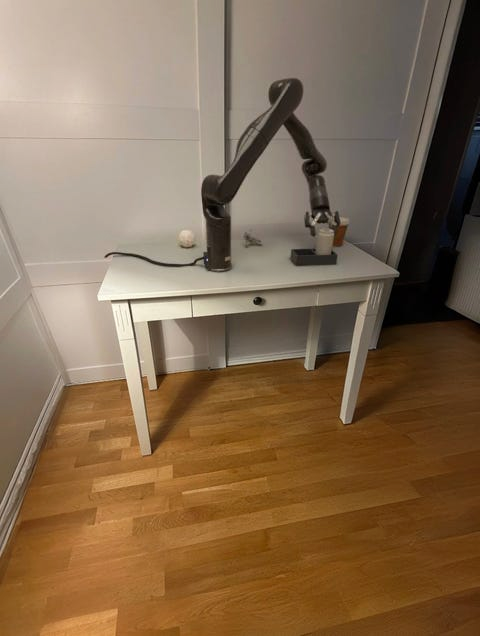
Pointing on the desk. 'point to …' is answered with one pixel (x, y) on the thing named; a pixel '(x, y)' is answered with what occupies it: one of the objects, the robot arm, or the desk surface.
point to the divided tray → (312, 257)
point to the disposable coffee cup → (340, 231)
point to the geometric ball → (187, 238)
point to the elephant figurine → (251, 239)
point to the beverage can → (324, 242)
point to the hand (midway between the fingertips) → (324, 235)
